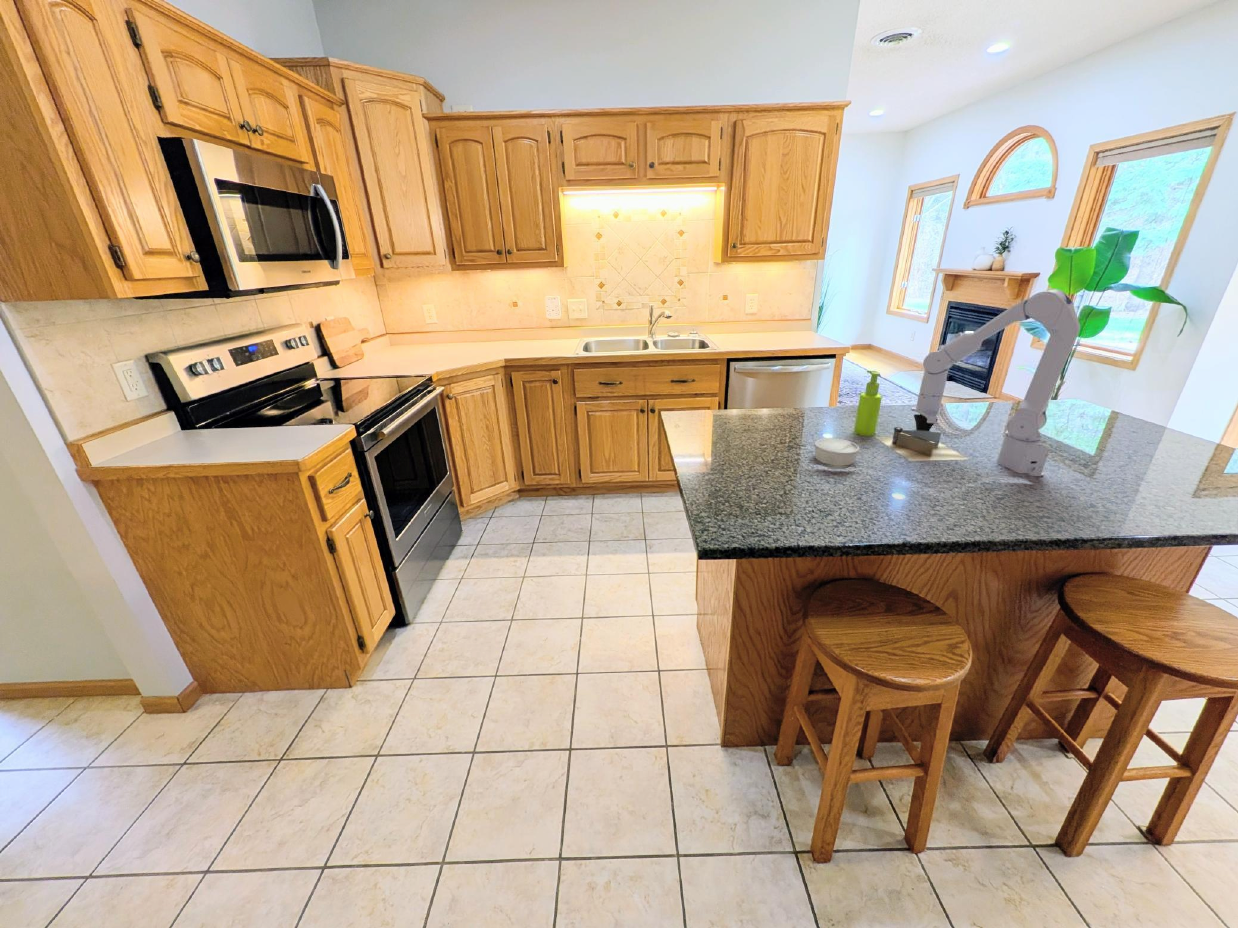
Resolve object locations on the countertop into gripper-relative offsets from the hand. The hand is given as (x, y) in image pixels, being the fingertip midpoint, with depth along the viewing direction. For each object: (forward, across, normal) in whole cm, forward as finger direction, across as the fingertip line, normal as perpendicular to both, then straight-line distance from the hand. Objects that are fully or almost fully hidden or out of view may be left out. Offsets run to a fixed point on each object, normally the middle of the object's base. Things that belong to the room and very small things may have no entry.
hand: (920, 439), depth 145 cm
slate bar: (+1, +1, -1) cm, 2 cm away
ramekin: (+3, +20, -24) cm, 31 cm away
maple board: (+2, +4, -1) cm, 5 cm away
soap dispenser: (+2, -6, -14) cm, 16 cm away
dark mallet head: (+1, +6, -3) cm, 7 cm away
